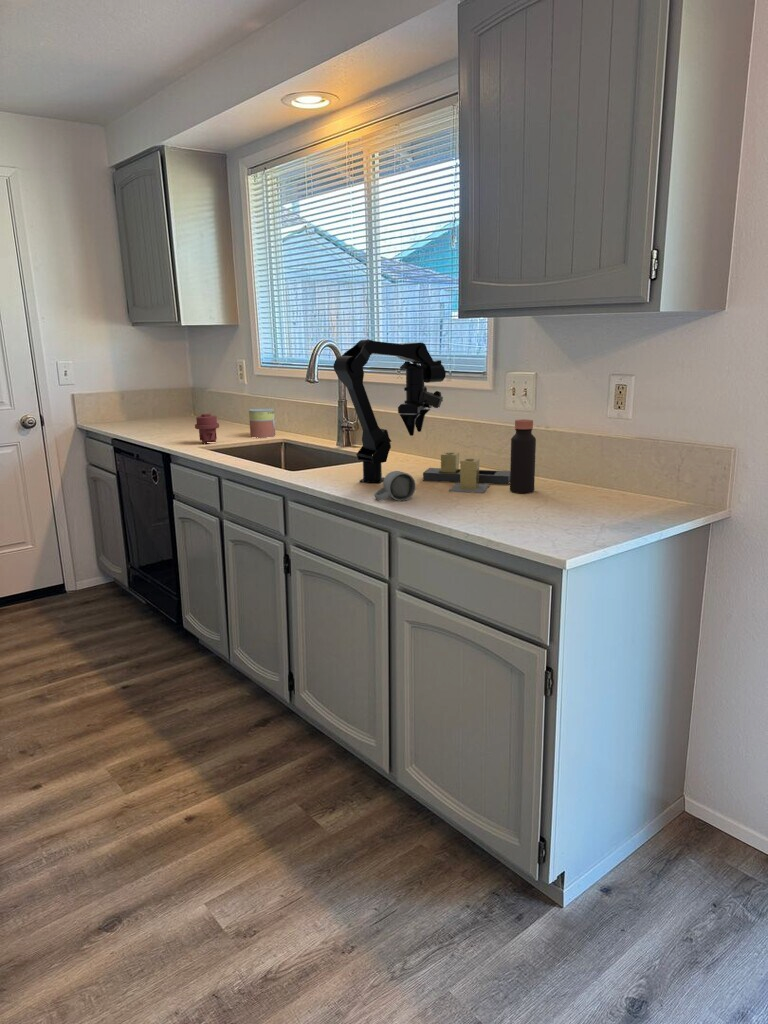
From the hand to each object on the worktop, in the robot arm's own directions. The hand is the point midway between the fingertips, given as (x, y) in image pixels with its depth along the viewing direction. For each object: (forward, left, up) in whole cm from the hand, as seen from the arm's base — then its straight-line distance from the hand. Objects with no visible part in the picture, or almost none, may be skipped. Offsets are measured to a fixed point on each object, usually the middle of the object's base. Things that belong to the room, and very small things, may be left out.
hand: (415, 433), depth 224 cm
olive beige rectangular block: (-18, -21, -13) cm, 30 cm away
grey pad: (-18, -21, -13) cm, 31 cm away
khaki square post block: (-6, -13, -13) cm, 19 cm away
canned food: (+69, +90, -13) cm, 114 cm away
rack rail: (-6, -18, -13) cm, 23 cm away
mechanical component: (+46, +104, -13) cm, 115 cm away
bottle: (-18, -36, -13) cm, 42 cm away
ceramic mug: (-35, -3, -13) cm, 37 cm away
